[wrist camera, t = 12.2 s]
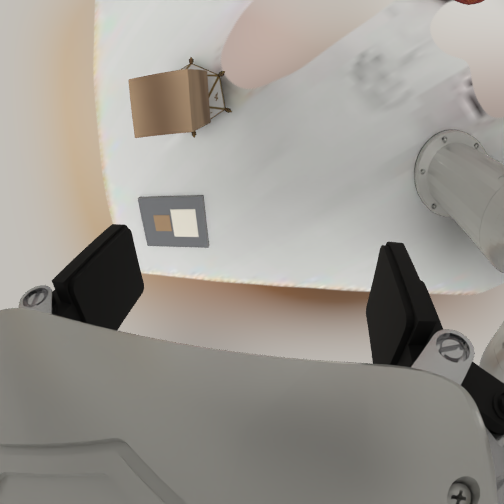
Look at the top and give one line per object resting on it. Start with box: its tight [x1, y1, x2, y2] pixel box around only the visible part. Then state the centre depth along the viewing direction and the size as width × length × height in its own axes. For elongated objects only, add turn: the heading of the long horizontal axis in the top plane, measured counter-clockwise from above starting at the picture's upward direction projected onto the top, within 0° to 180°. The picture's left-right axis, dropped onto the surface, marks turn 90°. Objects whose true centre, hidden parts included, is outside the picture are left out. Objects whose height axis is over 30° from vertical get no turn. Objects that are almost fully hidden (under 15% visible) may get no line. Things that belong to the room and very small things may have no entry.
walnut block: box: [129, 69, 211, 138], centre depth 25 cm, size 6×6×6 cm
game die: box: [181, 57, 232, 138], centre depth 31 cm, size 9×8×10 cm
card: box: [138, 195, 209, 248], centre depth 44 cm, size 10×8×1 cm
